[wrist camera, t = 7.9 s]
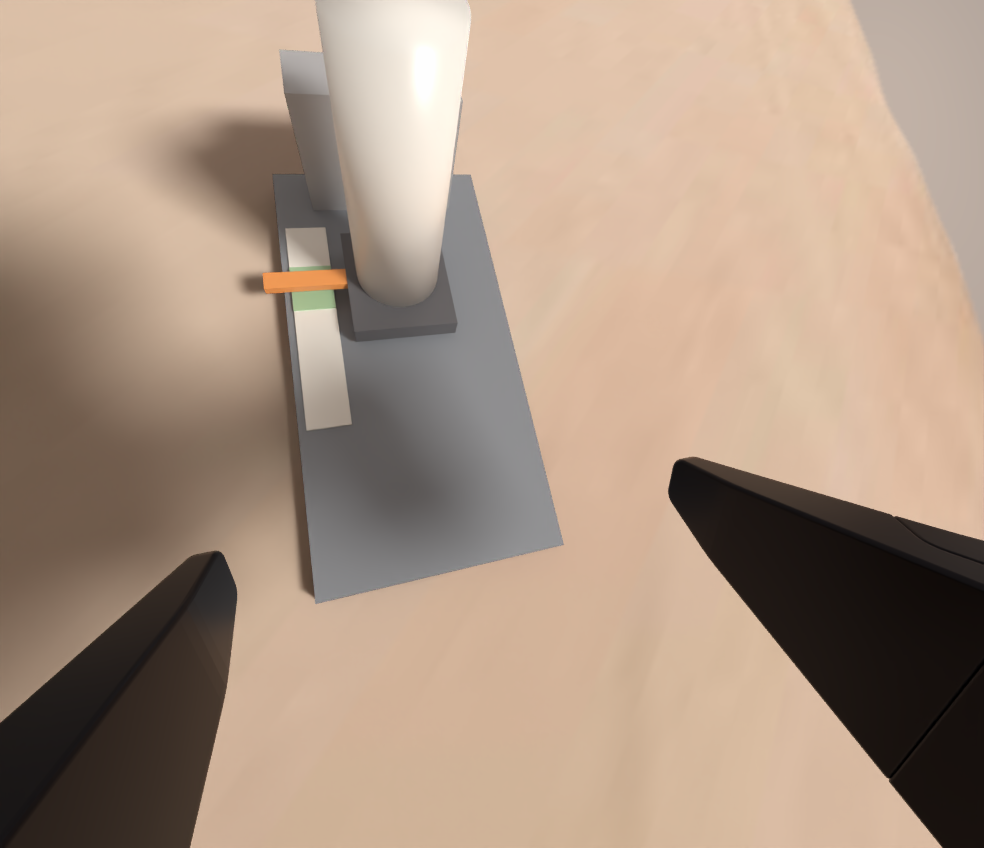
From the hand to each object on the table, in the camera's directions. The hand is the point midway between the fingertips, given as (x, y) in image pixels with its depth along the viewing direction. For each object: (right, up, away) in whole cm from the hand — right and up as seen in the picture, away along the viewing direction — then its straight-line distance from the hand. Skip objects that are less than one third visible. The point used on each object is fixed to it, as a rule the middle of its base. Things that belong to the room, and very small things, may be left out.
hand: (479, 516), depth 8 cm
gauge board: (-3, +5, +10) cm, 12 cm away
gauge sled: (-5, +7, +9) cm, 13 cm away
